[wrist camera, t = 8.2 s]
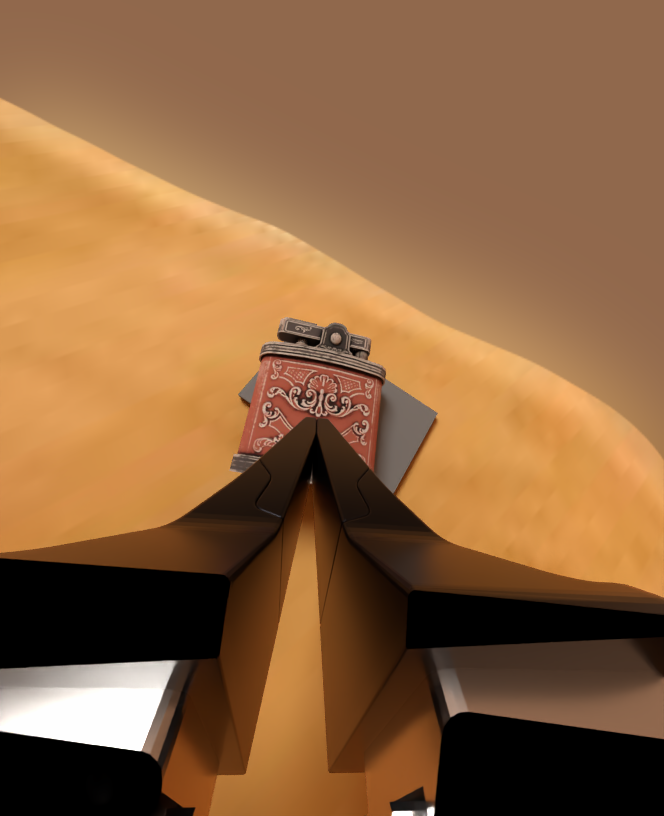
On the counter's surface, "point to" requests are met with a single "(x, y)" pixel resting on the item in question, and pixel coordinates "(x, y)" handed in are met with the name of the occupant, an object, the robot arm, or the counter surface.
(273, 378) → the lighter
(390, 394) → the mat
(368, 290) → the counter surface
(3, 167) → the counter surface
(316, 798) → the counter surface
